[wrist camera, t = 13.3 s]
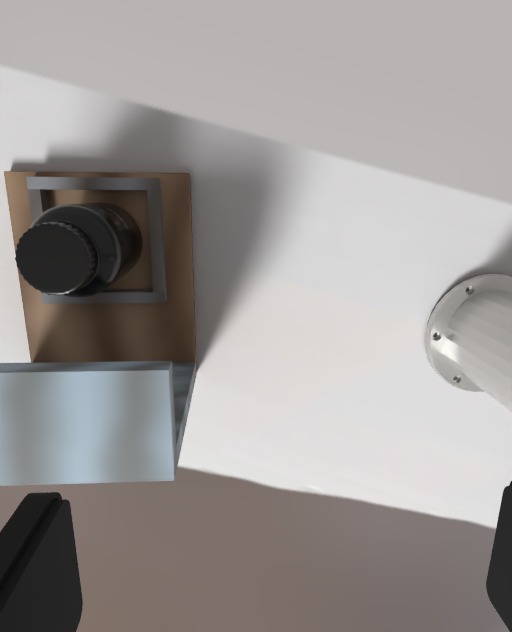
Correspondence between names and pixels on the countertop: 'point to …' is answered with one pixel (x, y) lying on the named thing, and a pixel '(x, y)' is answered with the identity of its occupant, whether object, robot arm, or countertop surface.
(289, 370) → the countertop surface
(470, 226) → the countertop surface
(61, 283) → the supplement bottle
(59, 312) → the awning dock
